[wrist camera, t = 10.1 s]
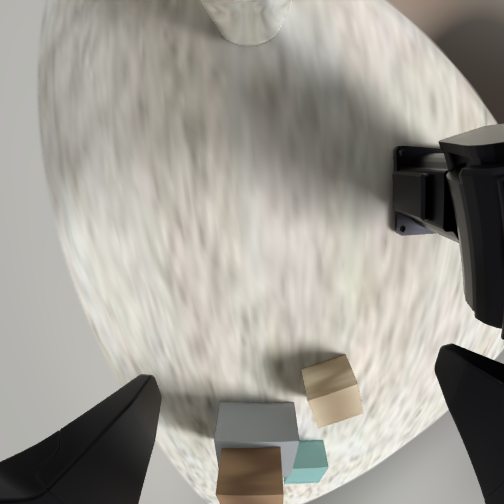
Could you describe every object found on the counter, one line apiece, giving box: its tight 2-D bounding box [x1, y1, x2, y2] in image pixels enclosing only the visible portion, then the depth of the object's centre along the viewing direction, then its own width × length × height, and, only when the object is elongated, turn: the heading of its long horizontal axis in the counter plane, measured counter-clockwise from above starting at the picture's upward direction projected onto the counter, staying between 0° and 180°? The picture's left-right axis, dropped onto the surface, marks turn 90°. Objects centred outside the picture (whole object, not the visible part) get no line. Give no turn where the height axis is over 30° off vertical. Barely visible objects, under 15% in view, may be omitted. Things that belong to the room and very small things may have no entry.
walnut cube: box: [216, 447, 283, 504], centre depth 18 cm, size 5×5×5 cm
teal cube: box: [284, 440, 328, 484], centre depth 25 cm, size 4×4×4 cm
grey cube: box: [214, 402, 299, 477], centre depth 23 cm, size 7×7×5 cm
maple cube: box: [301, 354, 363, 428], centre depth 21 cm, size 4×4×4 cm
